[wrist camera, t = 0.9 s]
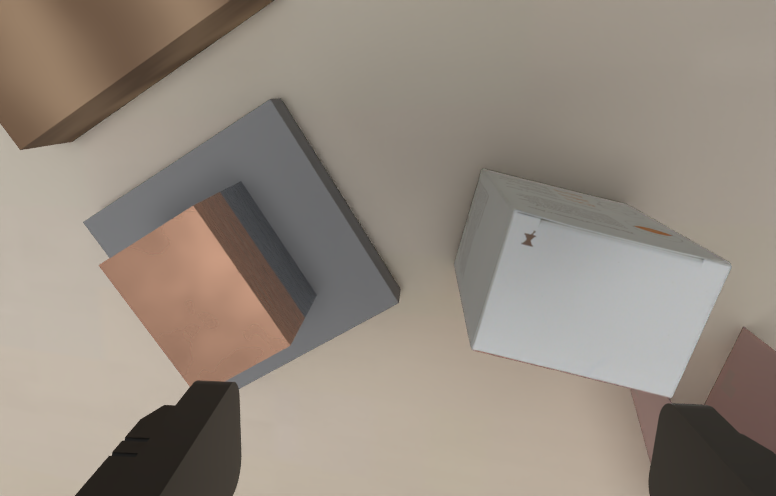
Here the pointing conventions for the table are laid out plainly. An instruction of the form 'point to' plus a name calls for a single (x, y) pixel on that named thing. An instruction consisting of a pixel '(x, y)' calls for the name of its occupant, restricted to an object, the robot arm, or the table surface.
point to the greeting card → (730, 394)
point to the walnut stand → (96, 57)
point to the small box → (582, 284)
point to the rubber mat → (283, 212)
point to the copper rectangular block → (214, 287)
